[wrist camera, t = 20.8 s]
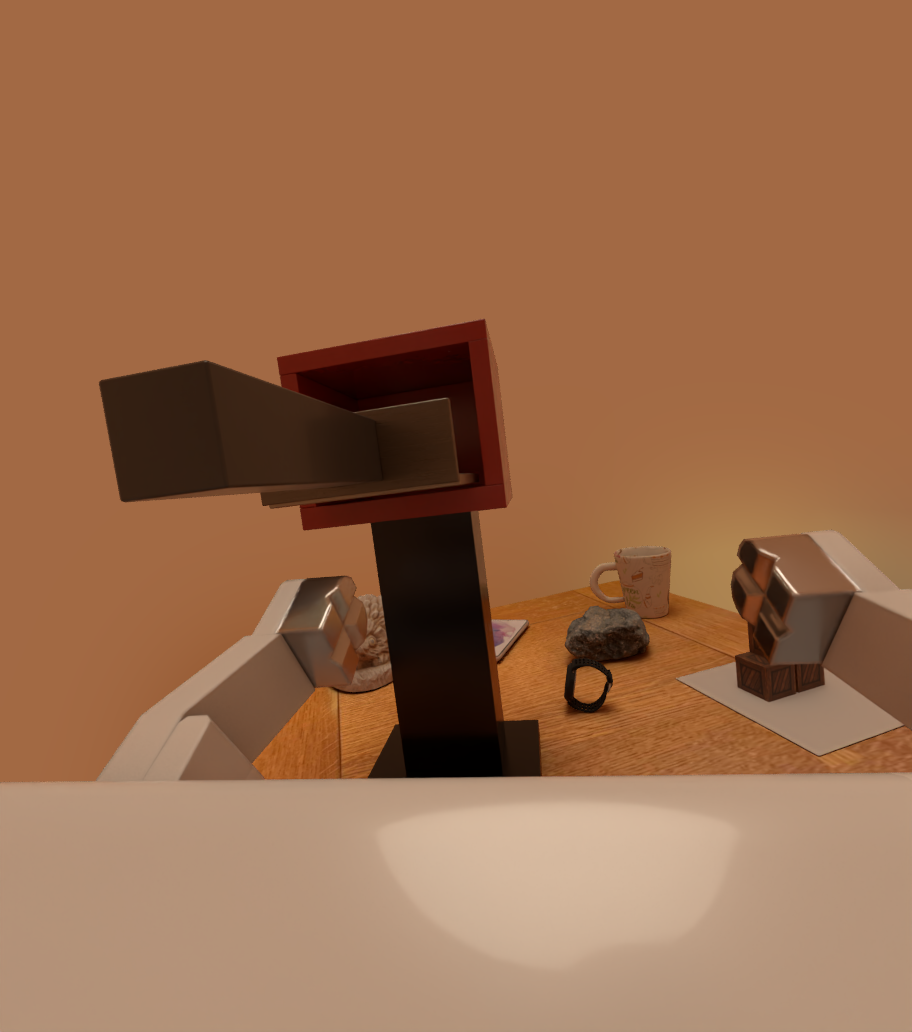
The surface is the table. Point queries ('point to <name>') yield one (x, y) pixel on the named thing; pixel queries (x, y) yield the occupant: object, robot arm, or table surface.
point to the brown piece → (268, 440)
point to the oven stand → (431, 551)
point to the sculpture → (372, 651)
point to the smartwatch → (572, 679)
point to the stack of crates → (794, 700)
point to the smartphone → (506, 634)
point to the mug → (639, 579)
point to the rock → (607, 634)
